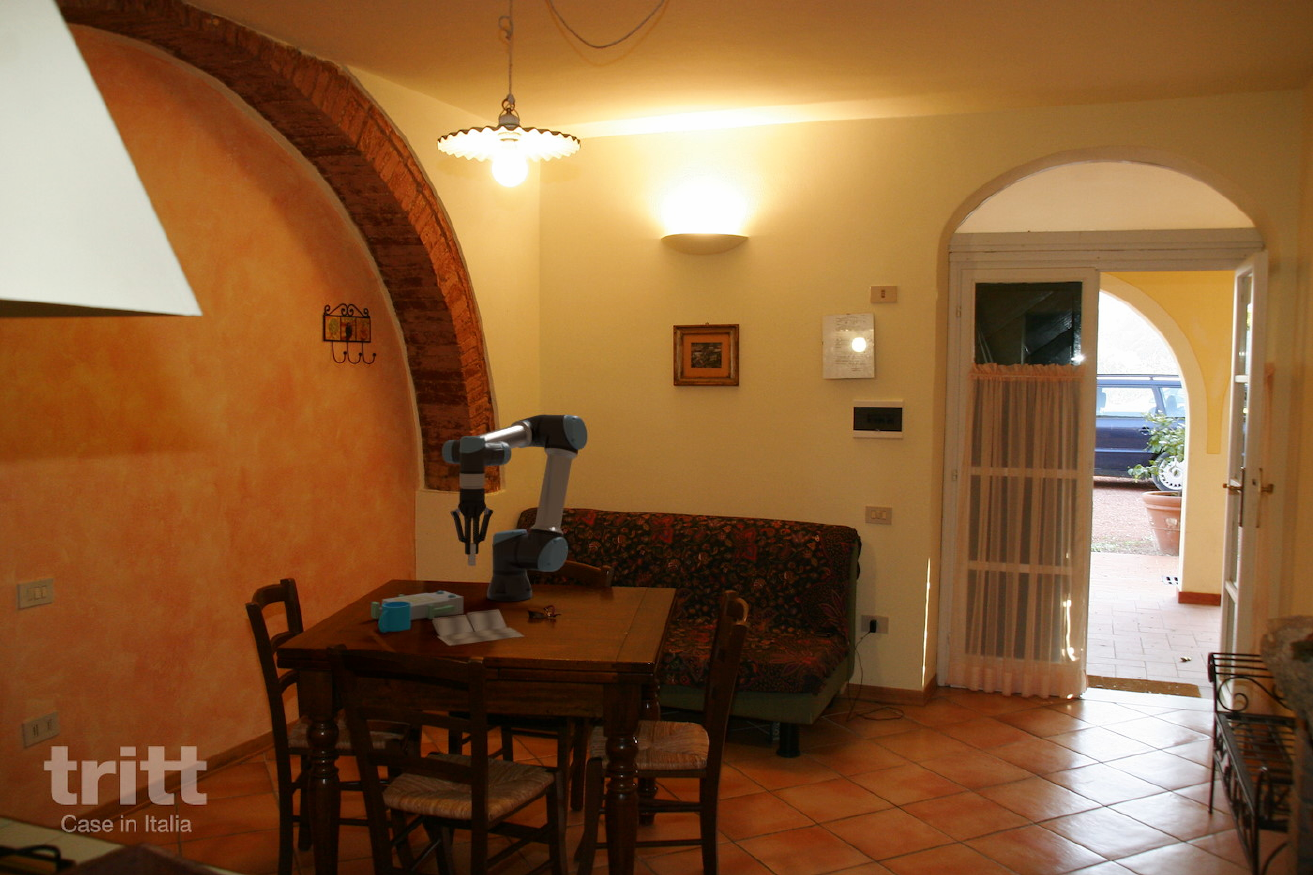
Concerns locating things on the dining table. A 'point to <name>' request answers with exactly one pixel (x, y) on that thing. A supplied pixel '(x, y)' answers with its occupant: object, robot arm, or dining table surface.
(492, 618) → the grey rectangular panel
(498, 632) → the floor board
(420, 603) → the decorative block
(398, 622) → the mug
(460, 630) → the plank
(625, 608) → the dining table surface
